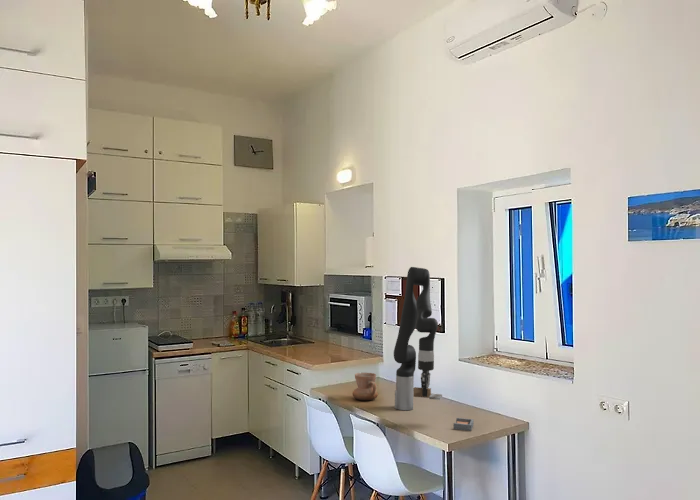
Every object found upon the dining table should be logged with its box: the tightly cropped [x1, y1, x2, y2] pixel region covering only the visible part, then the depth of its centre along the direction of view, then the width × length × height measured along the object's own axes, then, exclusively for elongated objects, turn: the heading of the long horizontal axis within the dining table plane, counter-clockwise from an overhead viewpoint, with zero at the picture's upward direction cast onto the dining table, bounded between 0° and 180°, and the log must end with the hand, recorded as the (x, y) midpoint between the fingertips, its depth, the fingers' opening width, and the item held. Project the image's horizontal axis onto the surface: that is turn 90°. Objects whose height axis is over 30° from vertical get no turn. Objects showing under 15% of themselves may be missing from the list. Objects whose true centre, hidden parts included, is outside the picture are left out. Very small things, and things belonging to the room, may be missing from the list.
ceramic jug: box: [351, 372, 379, 402], centre depth 309 cm, size 18×14×14 cm
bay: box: [453, 417, 475, 432], centre depth 256 cm, size 8×11×2 cm
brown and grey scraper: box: [413, 386, 443, 401], centre depth 263 cm, size 13×7×4 cm, turn 72°
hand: (425, 395), depth 263 cm, fingers closed on brown and grey scraper, 2 cm apart
